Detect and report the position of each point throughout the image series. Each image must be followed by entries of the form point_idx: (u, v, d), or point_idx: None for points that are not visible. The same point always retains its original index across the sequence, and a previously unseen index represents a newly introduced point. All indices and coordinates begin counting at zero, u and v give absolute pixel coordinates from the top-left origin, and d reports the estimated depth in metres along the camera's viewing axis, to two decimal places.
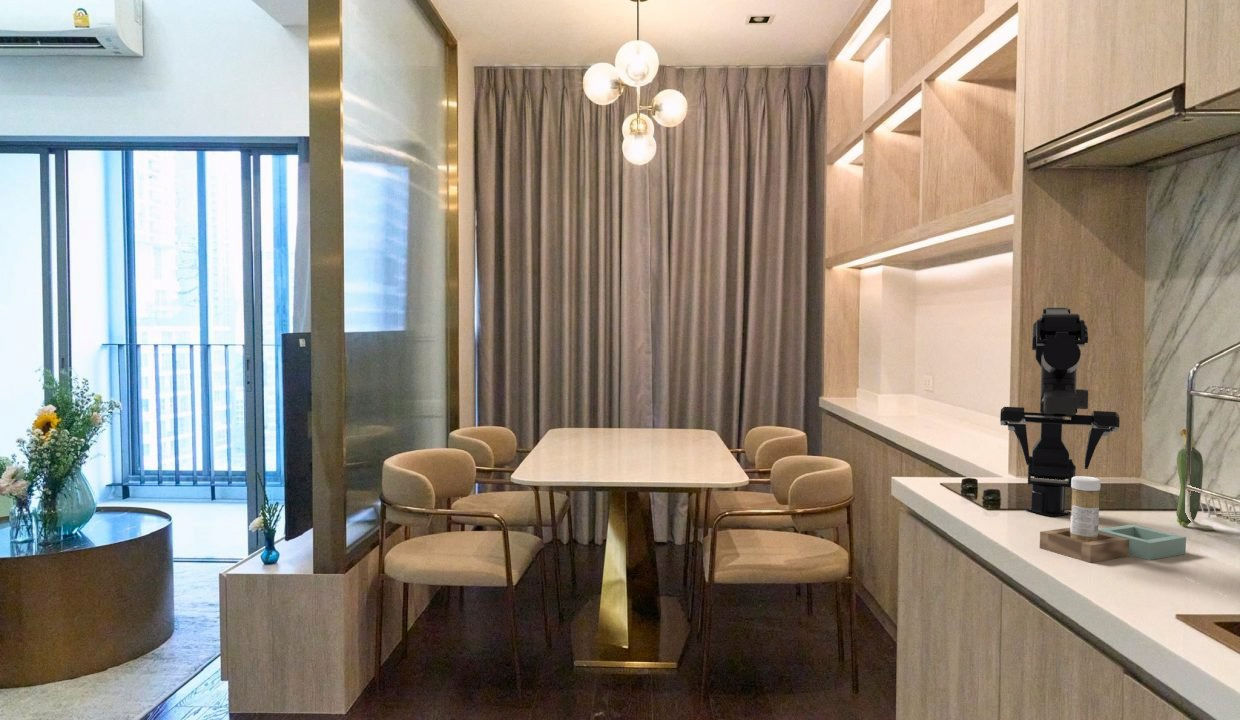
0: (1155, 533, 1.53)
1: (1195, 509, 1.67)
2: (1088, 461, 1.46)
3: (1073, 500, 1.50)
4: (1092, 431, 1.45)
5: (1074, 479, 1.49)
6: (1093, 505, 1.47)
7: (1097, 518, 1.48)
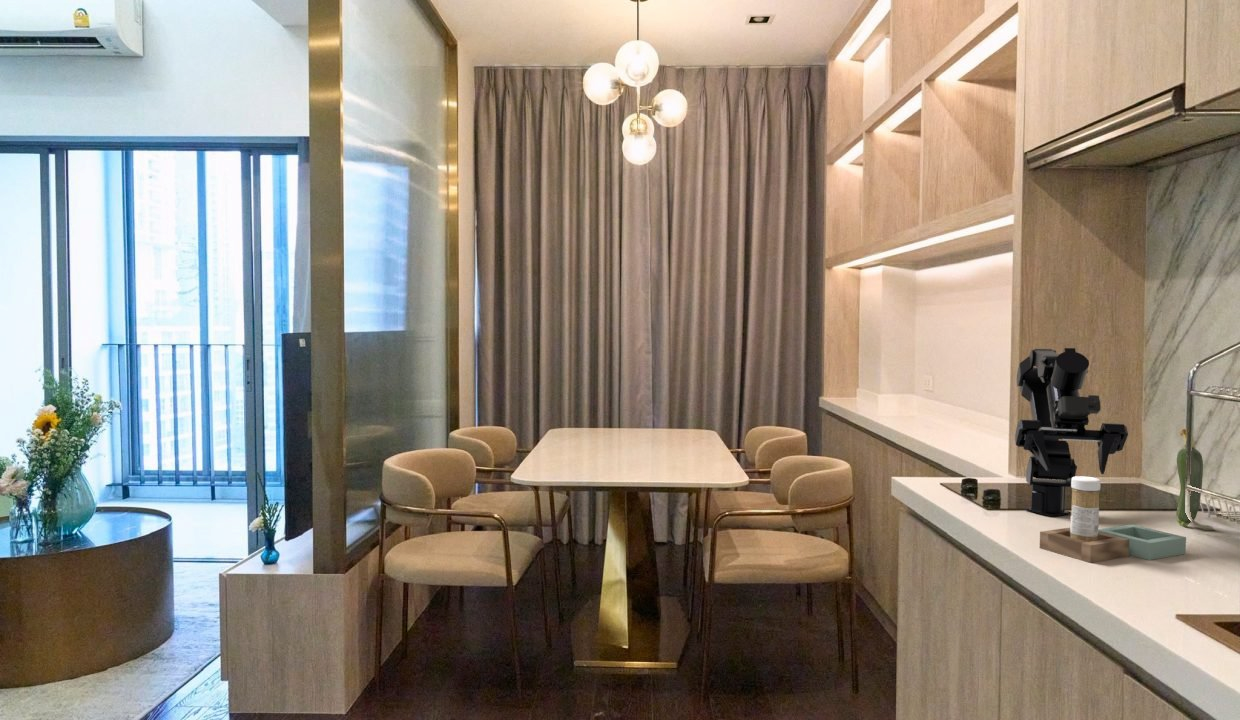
0: (1155, 533, 1.53)
1: (1195, 509, 1.67)
2: (1104, 464, 1.55)
3: (1073, 500, 1.50)
4: (1104, 437, 1.57)
5: (1074, 479, 1.49)
6: (1093, 505, 1.47)
7: (1097, 518, 1.48)
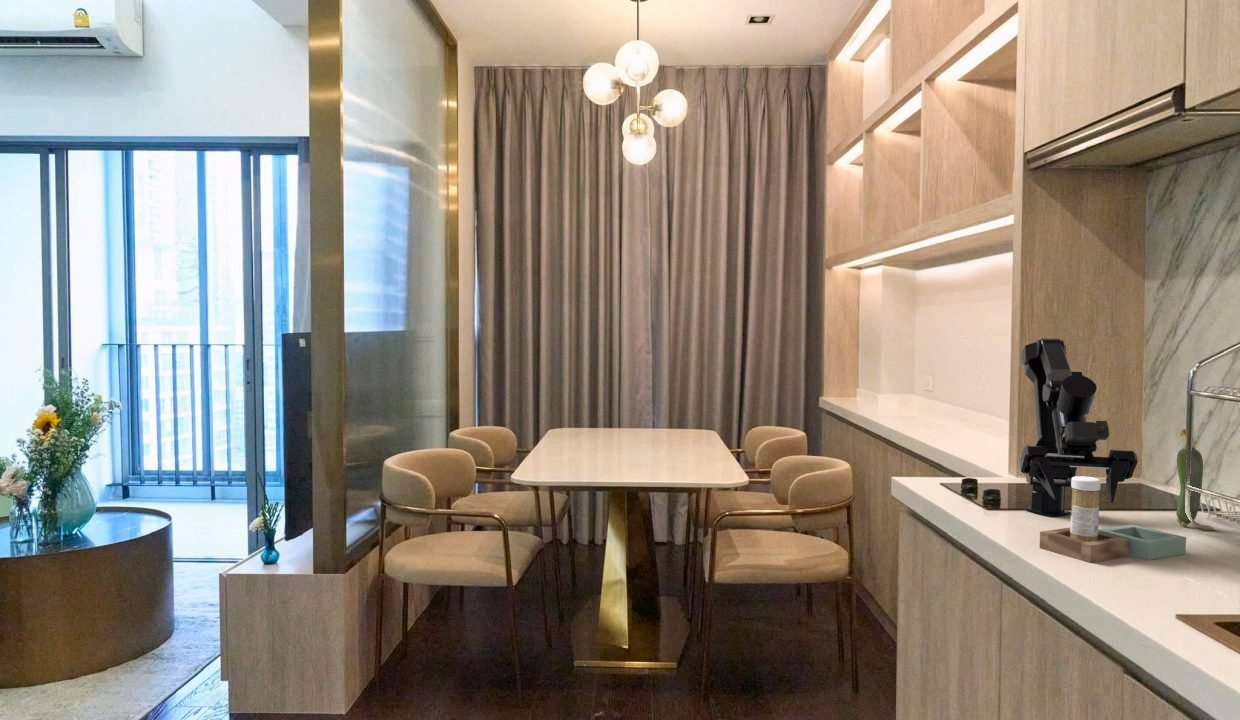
0: (1155, 533, 1.53)
1: (1195, 509, 1.67)
2: (1113, 493, 1.49)
3: (1073, 500, 1.50)
4: (1113, 464, 1.51)
5: (1074, 479, 1.49)
6: (1093, 505, 1.47)
7: (1097, 518, 1.48)
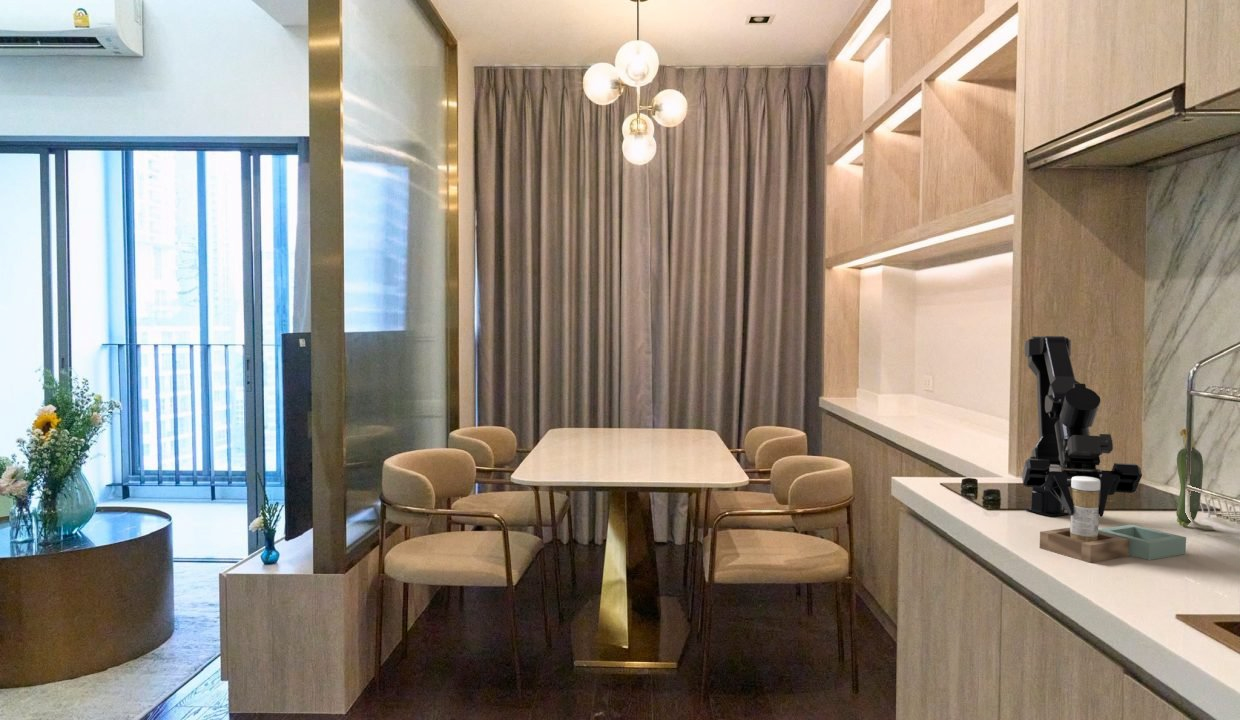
0: (1155, 533, 1.53)
1: (1195, 509, 1.67)
2: (1103, 507, 1.48)
3: (1073, 500, 1.50)
4: (1103, 477, 1.50)
5: (1074, 479, 1.49)
6: (1093, 505, 1.47)
7: (1097, 518, 1.48)
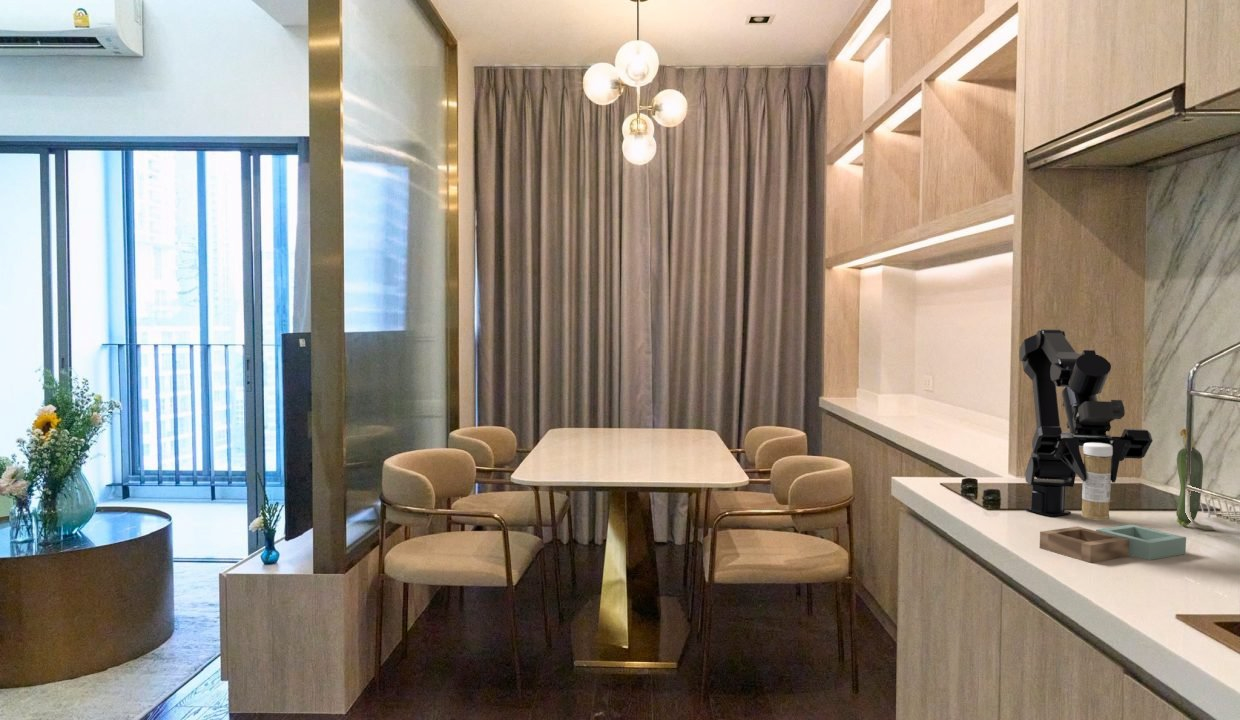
0: (1155, 533, 1.53)
1: (1195, 509, 1.67)
2: (1115, 472, 1.48)
3: (1085, 466, 1.49)
4: (1114, 443, 1.50)
5: (1087, 445, 1.49)
6: (1106, 471, 1.47)
7: (1109, 484, 1.48)
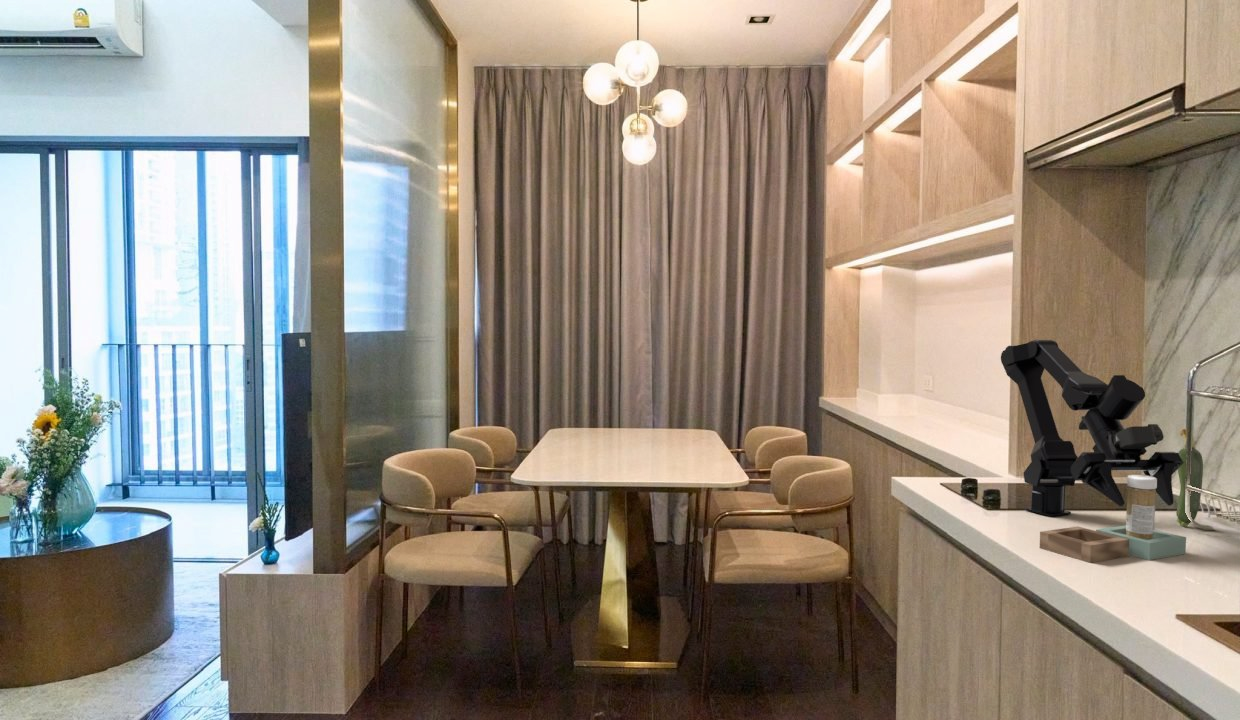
0: (1155, 533, 1.53)
1: (1195, 509, 1.67)
2: (1171, 496, 1.51)
3: (1132, 499, 1.51)
4: (1165, 466, 1.53)
5: (1134, 478, 1.50)
6: (1153, 503, 1.50)
7: (1154, 515, 1.50)
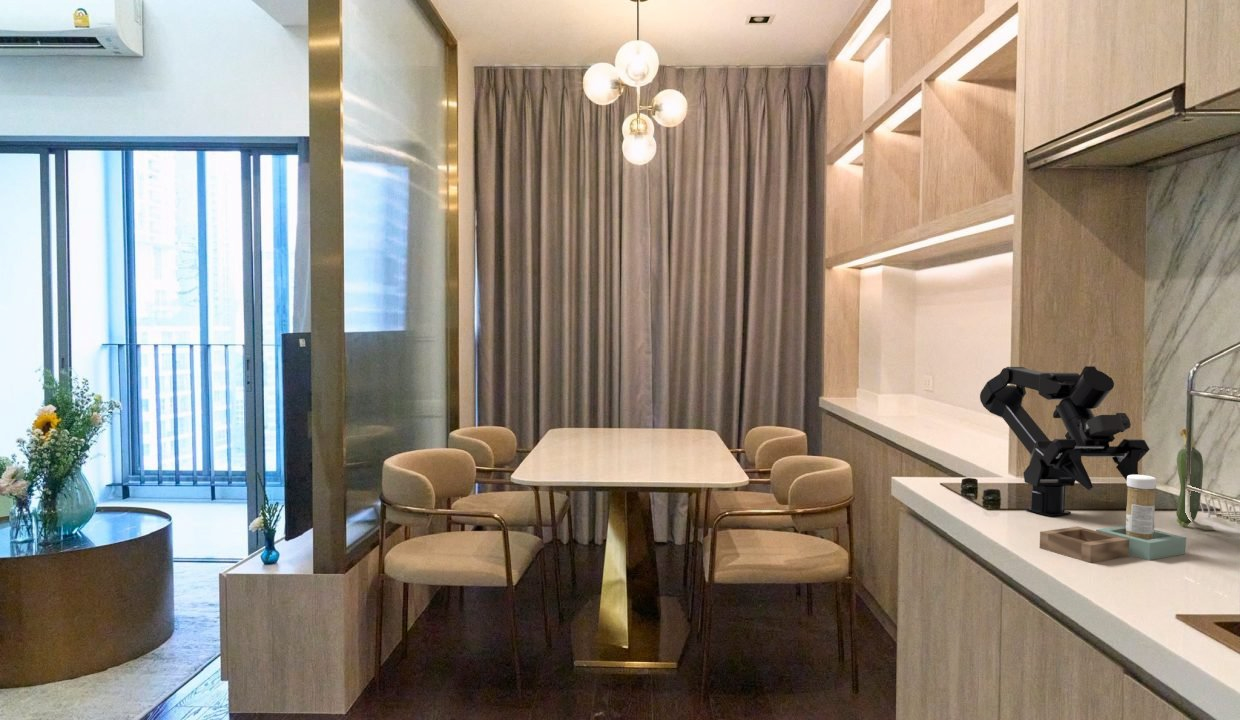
0: (1155, 533, 1.53)
1: (1195, 509, 1.67)
2: None
3: (1132, 499, 1.51)
4: (1132, 453, 1.61)
5: (1134, 478, 1.50)
6: (1152, 503, 1.50)
7: (1154, 514, 1.51)
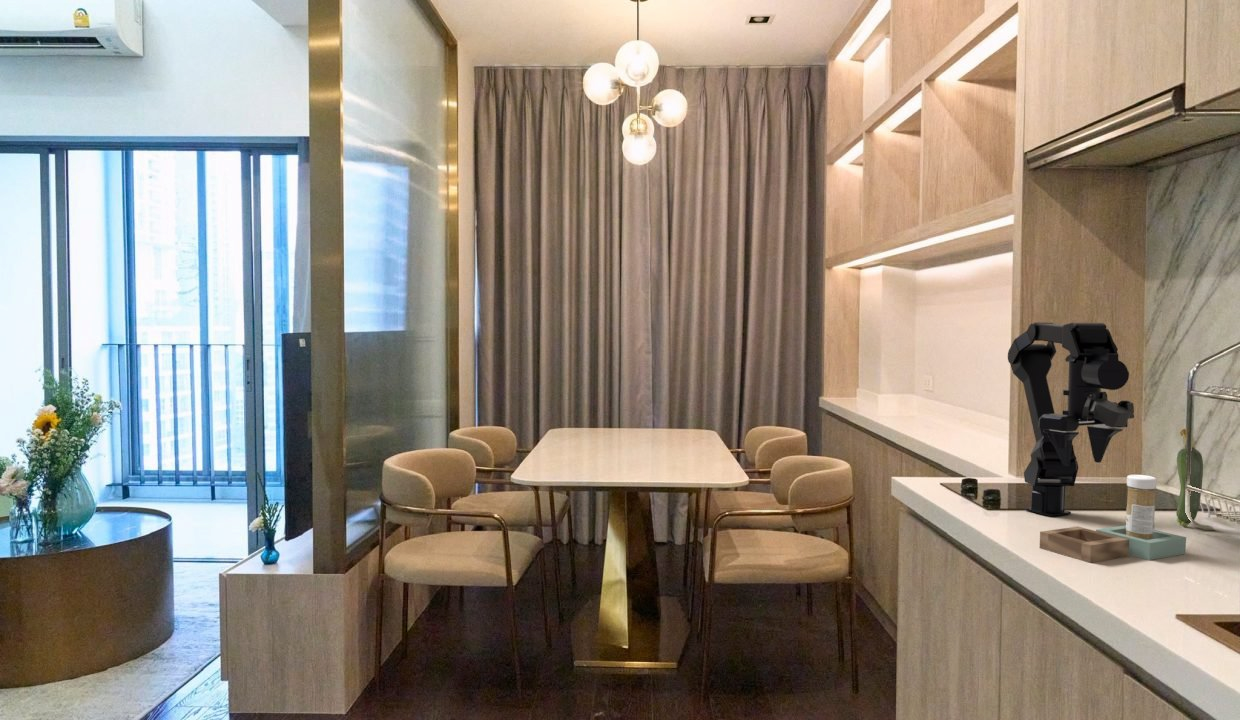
0: (1155, 533, 1.53)
1: (1195, 509, 1.67)
2: (1102, 456, 1.68)
3: (1132, 499, 1.51)
4: (1113, 432, 1.66)
5: (1134, 478, 1.50)
6: (1153, 503, 1.50)
7: (1154, 515, 1.51)
